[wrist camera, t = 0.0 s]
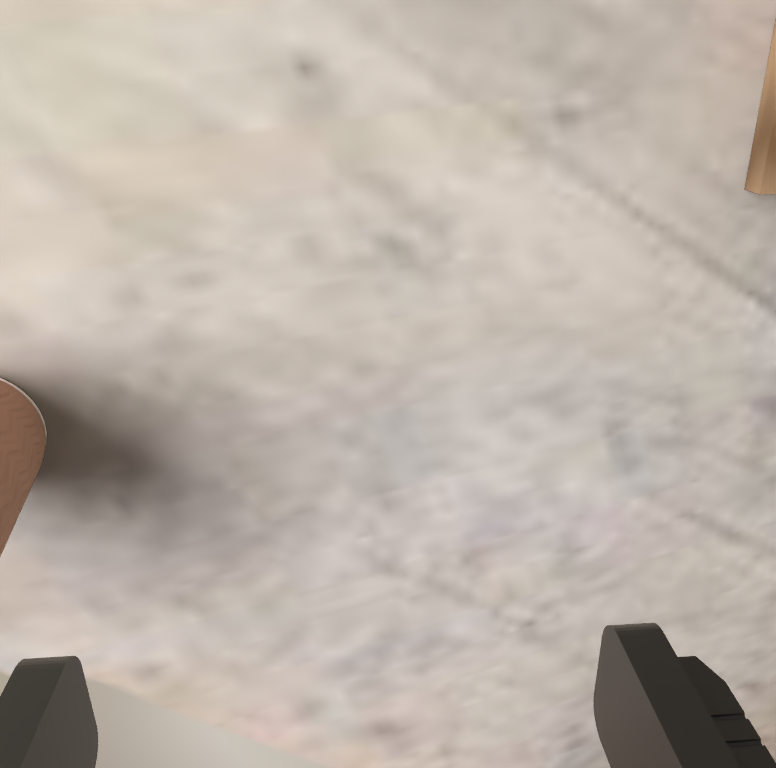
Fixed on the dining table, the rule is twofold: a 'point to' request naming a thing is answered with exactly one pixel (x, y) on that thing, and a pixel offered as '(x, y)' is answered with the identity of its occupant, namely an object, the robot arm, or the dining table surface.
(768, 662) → the dining table surface
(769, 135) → the socket block
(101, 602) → the dining table surface
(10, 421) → the coffee cup
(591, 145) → the dining table surface
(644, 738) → the robot arm
